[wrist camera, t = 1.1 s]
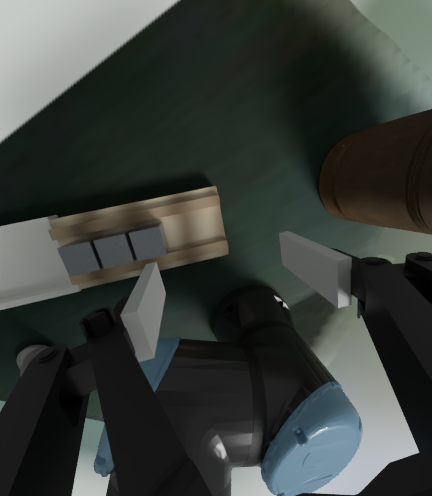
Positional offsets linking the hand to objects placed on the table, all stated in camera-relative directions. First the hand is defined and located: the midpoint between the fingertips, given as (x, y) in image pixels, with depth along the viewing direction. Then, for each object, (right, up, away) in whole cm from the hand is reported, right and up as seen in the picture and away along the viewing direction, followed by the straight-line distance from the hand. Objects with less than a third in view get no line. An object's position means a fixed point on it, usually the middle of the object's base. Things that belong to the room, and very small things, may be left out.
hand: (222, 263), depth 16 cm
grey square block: (-14, +2, +15) cm, 21 cm away
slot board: (-12, +3, +18) cm, 22 cm away
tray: (-31, -1, +16) cm, 35 cm away
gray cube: (-10, +3, +15) cm, 18 cm away
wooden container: (+25, +14, +21) cm, 35 cm away
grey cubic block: (-19, +1, +14) cm, 24 cm away
